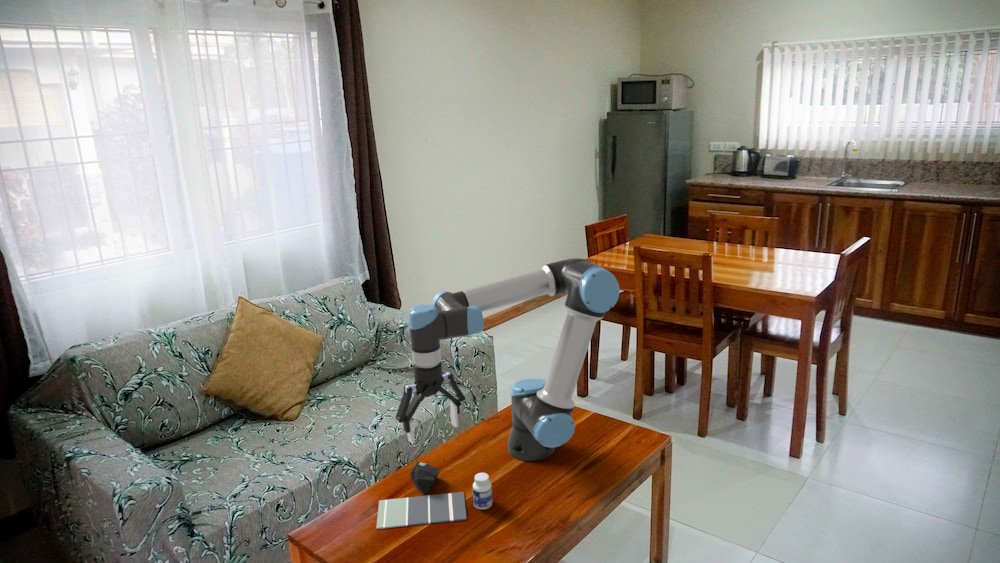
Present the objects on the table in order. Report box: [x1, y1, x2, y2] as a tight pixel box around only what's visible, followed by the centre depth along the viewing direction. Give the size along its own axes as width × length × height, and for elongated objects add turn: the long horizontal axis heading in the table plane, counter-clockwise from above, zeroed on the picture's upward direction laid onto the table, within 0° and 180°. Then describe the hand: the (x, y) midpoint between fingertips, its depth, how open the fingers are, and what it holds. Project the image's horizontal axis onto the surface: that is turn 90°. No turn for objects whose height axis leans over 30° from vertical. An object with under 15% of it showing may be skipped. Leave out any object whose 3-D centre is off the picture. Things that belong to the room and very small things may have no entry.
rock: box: [410, 461, 441, 494], centre depth 188 cm, size 10×9×6 cm
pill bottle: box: [472, 472, 493, 510], centre depth 177 cm, size 5×5×9 cm
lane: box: [375, 491, 467, 530], centre depth 177 cm, size 24×12×1 cm, turn 97°
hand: (433, 433), depth 176 cm, fingers open, 13 cm apart
